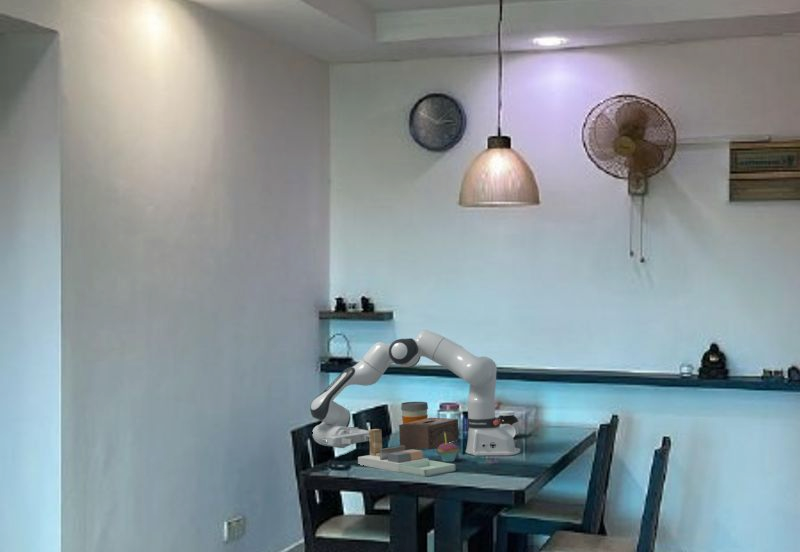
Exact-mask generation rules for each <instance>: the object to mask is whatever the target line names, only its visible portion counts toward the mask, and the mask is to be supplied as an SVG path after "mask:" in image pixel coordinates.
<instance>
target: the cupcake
mask: <svg viewBox="0 0 800 552" xmlns="http://www.w3.org/2000/svg"><path fill="white" fill-rule="evenodd" d="M444 432H445V431H444ZM444 436H445V443H444V444H441V445H439V447H436V448H437V453H438V454H439V455H440V457H441V460H442V461H441V462H444V463H451V462H454V461H455V460H456V457H457V454H458V453H459V451H460V449H459V446H458V445H457V444H455V443H454V442H453V443H447V439H446V433H444Z"/></svg>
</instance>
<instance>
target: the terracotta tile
mask: <svg viewBox="0 0 800 552" xmlns="http://www.w3.org/2000/svg"><path fill="white" fill-rule="evenodd" d="M401 452H407V453H410V461H412V460H418V459H423V458H424V453H423V450H422V449H414V448H410V449H405V451H401Z"/></svg>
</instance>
